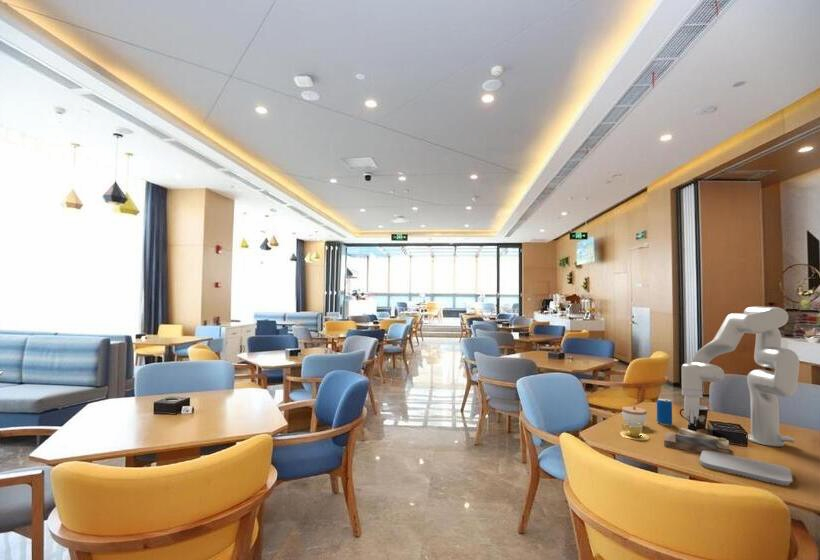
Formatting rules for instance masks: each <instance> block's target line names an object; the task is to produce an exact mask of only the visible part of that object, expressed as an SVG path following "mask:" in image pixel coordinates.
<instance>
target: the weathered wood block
mask: <svg viewBox="0 0 820 560" xmlns="http://www.w3.org/2000/svg"><path fill="white" fill-rule="evenodd" d="M663 440H664V441H663V442H664V443H663V445H664V447H667V446H668V447H667V448H672V447H673V449H677V450H682V449H683V451H687V450H688V452H694V453H699V454H701V453H702V451H704V450H708V451H714V452H719V453H724V454H729V455H731V454H730V447H729V448H728V449H722V448H719V447H717V441H715V440H709V439H703V438H698V437H692V436H686V435H681V434H679V433H675V432H670V431H666V432H665V435H664V439H663Z"/></svg>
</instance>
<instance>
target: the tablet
mask: <svg viewBox="0 0 820 560" xmlns="http://www.w3.org/2000/svg"><path fill="white" fill-rule="evenodd" d="M699 462H700V463H701V466H703V467H704V468H707V469H711V470H715V471H720V472H723V471H724V472H723V473H727V472H730V473H729V474H732V473H734V474H733V475H736V474H738V475H737V476H740V475H742V477H744V476H746V477H745V478H749V477H750V479H753V478H754V480H757V479H758V481H762V482H766V483H770V482H772V483H771V484H774V483H777V484H776V485H779V484H780V485H779V486H784V485H786V487H787V485H789V486H790V485H791V483H793V482H794V481H793V475H792V471H791V469H790V468H788V467H786V466H783V465H780V464H776V463H772V462H766V461H762V460H757V459H751V458H746V457H741V456H738V455H737V456H736V455H734V454H733V455H732V454H730V455H729V454H724V453H719V452H714V451H708V450H704V451H702V453H700V456H699Z"/></svg>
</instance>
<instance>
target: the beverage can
mask: <svg viewBox="0 0 820 560" xmlns="http://www.w3.org/2000/svg"><path fill="white" fill-rule="evenodd" d="M656 422H657V423H658V424H659V423H660V425H662V424H663V425H664V426H671V425H672V424H673V403H672V399H669V398H664V397H663V398H662V397H660V398H657V400H656Z"/></svg>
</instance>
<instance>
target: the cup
mask: <svg viewBox="0 0 820 560" xmlns="http://www.w3.org/2000/svg"><path fill="white" fill-rule="evenodd" d="M621 427H622V429H623V430H621V431H620V432H619V435H620V436H621V437H623V438H626V439H630V440H635V441H647V440H649V439H650V437H649V435H648V434H646V433H643V425H641V424H639V423H634V422H628V423H626V422H625V423H624V424H622V426H621ZM627 433H629V435H628V434H627ZM626 434H627V435H626ZM640 435H642V436H643V437H642V436H640ZM633 436H634V437H633Z"/></svg>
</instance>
